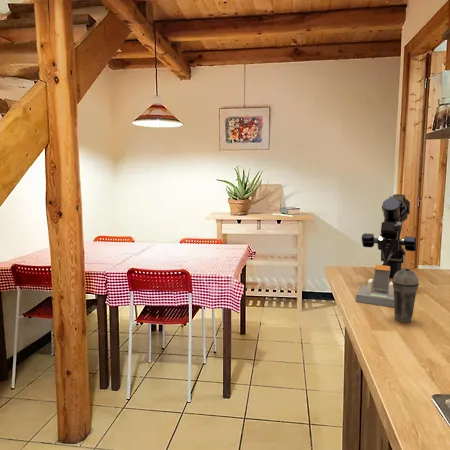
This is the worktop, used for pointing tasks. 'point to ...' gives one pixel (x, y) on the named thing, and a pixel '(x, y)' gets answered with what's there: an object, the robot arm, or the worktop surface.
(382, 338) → the worktop surface
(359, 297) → the breaker base
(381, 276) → the lever
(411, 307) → the beverage cup
